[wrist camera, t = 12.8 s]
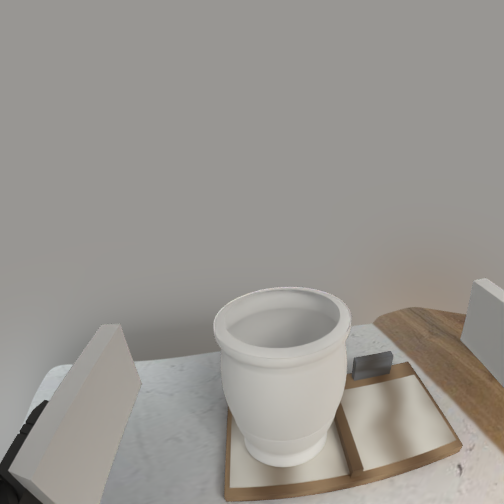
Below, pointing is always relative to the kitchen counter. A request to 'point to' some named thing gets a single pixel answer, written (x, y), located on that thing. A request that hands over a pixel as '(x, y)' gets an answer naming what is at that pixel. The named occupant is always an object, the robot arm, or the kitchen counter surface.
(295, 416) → the jar
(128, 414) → the robot arm
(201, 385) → the kitchen counter surface
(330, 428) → the tag board
